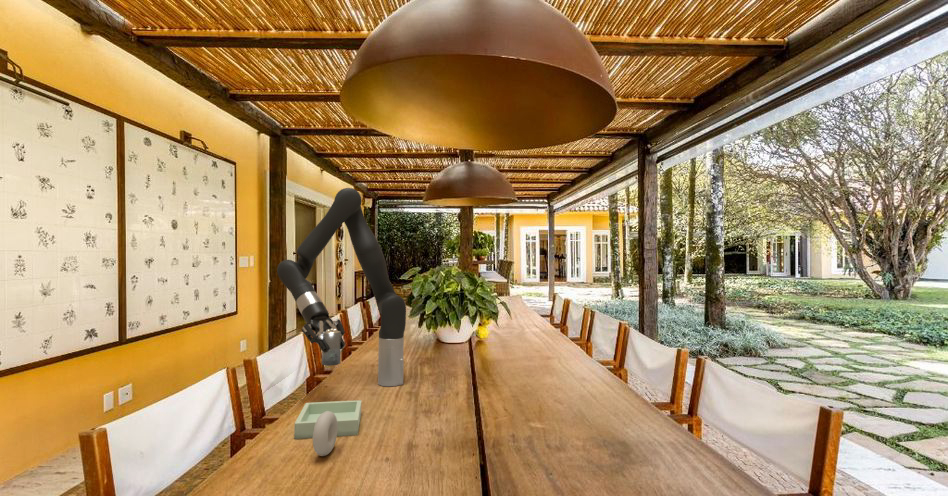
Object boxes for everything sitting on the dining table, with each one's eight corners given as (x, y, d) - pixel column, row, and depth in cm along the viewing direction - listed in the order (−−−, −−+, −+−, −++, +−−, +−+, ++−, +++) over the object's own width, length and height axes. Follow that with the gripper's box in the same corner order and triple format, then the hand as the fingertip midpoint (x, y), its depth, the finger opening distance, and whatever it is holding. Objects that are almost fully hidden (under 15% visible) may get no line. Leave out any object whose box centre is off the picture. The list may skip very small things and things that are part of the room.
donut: (325, 444, 110) (326, 405, 110) (339, 445, 110) (340, 405, 110) (309, 463, 100) (310, 419, 100) (324, 464, 100) (325, 420, 100)
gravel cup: (341, 360, 142) (341, 327, 142) (339, 365, 136) (339, 330, 136) (323, 361, 141) (323, 327, 141) (320, 365, 135) (321, 330, 135)
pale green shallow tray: (361, 413, 132) (361, 400, 132) (357, 435, 116) (358, 419, 116) (305, 416, 129) (305, 402, 129) (294, 439, 113) (294, 423, 113)
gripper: (298, 302, 137) (321, 345, 130) (335, 299, 149) (358, 338, 142) (287, 318, 140) (310, 360, 133) (325, 313, 152) (347, 352, 145)
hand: (335, 349), depth 138 cm, fingers closed on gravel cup, 5 cm apart
